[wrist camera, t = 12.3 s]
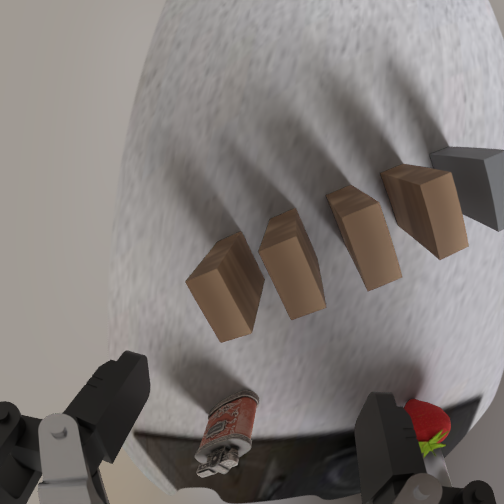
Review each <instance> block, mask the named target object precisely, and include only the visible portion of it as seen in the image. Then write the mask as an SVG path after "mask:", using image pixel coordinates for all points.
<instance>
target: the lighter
mask: <svg viewBox="0 0 504 504" xmlns="http://www.w3.org/2000/svg"><path fill="white" fill-rule="evenodd" d="M258 405H259V397H258V395H257V394H256V393H254V392H252V391H246V390H245V391H241V392H239V393H236V394H234V395H231V396H230V397H228V398H226V399H224V400H222V401H221V402H220V403H218V404H217V405H216V406H215V407H214V408H213V409H212V410H211V411H210V413H209V416H208V420H209V421H208V424H207V427H206V430H205V433H204V436H203V439H202V442H201V445H200V448H199V449H198V450H197V452H196V454H195V458H196V460H197V461H199V462H201V463H203V464H201V465H199V466H198V469H197V474H198V475H199V476H200V477H206V476H209V475H212V474H215V473H217V472H220V473H222V474H225V473H227V472H228V471H229V469H230V468H231V467H233V466H236V465H237V464H238V460H239V457H240V456H242V455H243V454H245V453H246V452H248V451H249V450H250V449H251V444H252V441H251V434H252V429H253V423H254V418H255V412H256V408H257V407H258Z"/></svg>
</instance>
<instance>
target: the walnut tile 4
mask: <svg viewBox="0 0 504 504" xmlns="http://www.w3.org/2000/svg"><path fill="white" fill-rule="evenodd" d="M380 175H381V177H382V180H383V183H384V186H385V188H386V191H387V194H388V197H389V200H390V202H391V205H392V208H393V211H394V214H395V217H396V221H397V224H398V226H399V227H400V228H402V229H403V230H404V231H405V232H407V233H408V234H409V235H410V236H412V237H413V238H414V239H415V240H417V241H418V242H419V243H420V244H421V245H423V246H424V247H425V248H426V249H427V250H429V251H430V252H431V253H432V254H433V255H434V256H436V257H437V258H438V259H439V260H441V259H443V258H445V257H448V256H450V255H452V254H454V253H456V252H458V251H460V250H462V249H464V248H466V247H468V246H469V245H468V239H467V234H466V229H465V224H464V220H463V215H462V211H461V207H460V202H459V199H458V195H457V191H456V187H455V184H454V180H453V177H452V173H451V172H448V171H443V170H437V169H432V168H426V167H420V166H414V165H408V164H402V165H399V166H396V167H394V168H391V169H389V170H386V171H384V172H381V173H380Z"/></svg>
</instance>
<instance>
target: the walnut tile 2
mask: <svg viewBox="0 0 504 504" xmlns="http://www.w3.org/2000/svg"><path fill="white" fill-rule="evenodd" d="M258 252H259V254H260V256H261V258H262V261H263V263H264V265H265V267H266V269H267V271H268V273H269V275H270V277H271V279H272V281H273V283H274V286H275V288H276V290H277V292H278V294H279V296H280V298H281V300H282V302H283V304H284V306H285V308H286V311H287V313H288V315H289V317H290V319H291V320H293V319H296V318H299V317H302V316H305V315H307V314H310V313H313V312H316V311H318V310H321V309H324V308H326V302H325V297H324V291H323V285H322V280H321V274H320V269H319V264H318V259H317V256H316V254H315V252H314V249H313V247H312V244H311V242H310V240H309V237H308V235H307V233H306V230H305V228H304V226H303V224H302V221H301V219H300V217H299V214H298V212H297V210H296V208H294V209H292V210H289V211H287V212H285V213H282V214H280V215H278V216H275V217H273V218H271V219H270V220H269V223H268V226H267V229H266V232H265V234H264V237H263V240H262V243H261V246H260V248H259V251H258Z"/></svg>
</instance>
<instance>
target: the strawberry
mask: <svg viewBox="0 0 504 504" xmlns="http://www.w3.org/2000/svg"><path fill="white" fill-rule="evenodd" d="M404 409H405V410H406V411H407V413H408V414H409V415H410V416H411V419H412V423H413V426H414V430H415V432H416V436H417V438H416V439H418V442H419V446H420V449H421V453H424V456H423V458H424V457H425V456H426V455H427V454H428V453H429V451H432V452H433V449H436V448H439V447H443V446H446V445H445V444H441V443H440V442H442V441H443V440H444V439H445V438H446V436H447V435H448V433H449V431H450V429H451V423H450V418H449V416H448V415H447V414H446V413H445V412H444V411H443V410H442V409H441V408H440V407H438V406H435V405H433V404H430V403H428V402H423V401H419V400H417V399H411V400H409V401H408V402H407V403H406V405H405V407H404ZM433 454H434V455H435V453H434V452H433ZM435 456H436V455H435Z"/></svg>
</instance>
